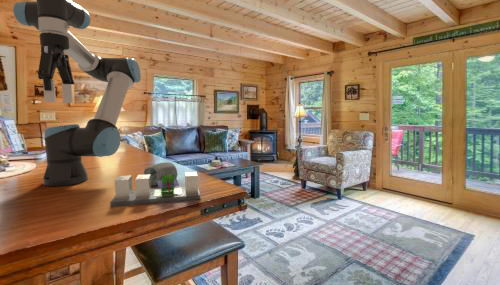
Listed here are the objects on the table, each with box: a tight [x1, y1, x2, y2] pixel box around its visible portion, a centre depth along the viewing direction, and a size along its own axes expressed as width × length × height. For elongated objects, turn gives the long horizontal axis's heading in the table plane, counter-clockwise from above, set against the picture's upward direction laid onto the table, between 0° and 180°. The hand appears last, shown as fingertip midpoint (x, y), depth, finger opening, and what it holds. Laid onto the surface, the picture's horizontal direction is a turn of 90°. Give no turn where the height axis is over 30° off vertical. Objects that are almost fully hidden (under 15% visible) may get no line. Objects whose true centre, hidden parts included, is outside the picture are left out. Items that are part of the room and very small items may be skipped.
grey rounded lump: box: [143, 161, 178, 187], centre depth 108 cm, size 14×10×10 cm
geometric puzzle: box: [157, 173, 180, 194], centre depth 90 cm, size 7×7×8 cm
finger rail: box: [110, 171, 201, 208], centre depth 89 cm, size 11×27×8 cm, turn 105°
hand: (59, 102), depth 87 cm, fingers open, 13 cm apart
